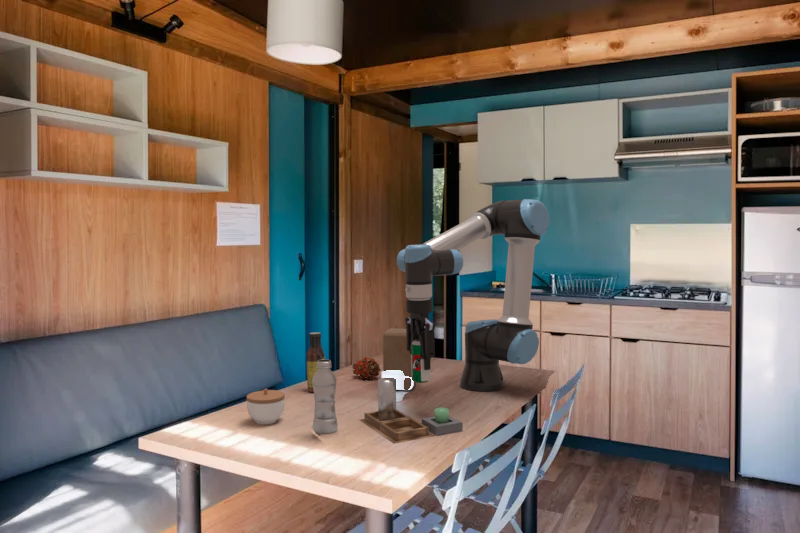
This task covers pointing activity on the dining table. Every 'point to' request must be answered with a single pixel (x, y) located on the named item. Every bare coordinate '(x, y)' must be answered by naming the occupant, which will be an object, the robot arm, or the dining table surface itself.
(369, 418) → the tray
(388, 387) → the seated cylinder
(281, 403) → the lidded jar
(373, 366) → the reddish brown bumpy oval
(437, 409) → the button
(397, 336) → the block
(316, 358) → the sauce bottle
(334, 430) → the plastic bottle
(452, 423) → the grey square holder
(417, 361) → the soda can
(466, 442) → the dining table surface
